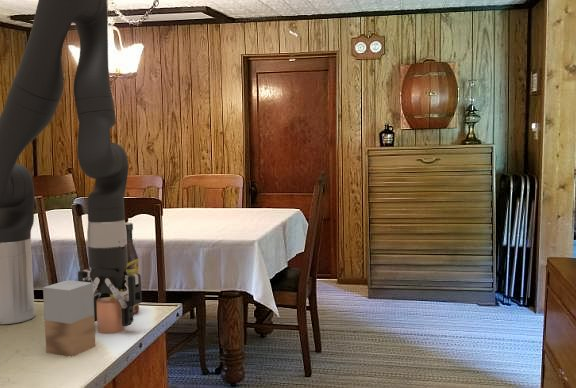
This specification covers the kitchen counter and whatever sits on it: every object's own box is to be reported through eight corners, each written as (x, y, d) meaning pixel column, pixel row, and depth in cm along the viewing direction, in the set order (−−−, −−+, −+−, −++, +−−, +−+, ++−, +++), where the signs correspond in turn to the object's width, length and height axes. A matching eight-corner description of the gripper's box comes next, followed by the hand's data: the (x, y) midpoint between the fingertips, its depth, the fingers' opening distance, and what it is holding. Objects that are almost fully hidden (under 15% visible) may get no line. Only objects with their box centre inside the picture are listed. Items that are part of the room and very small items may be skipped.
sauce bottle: (132, 317, 130) (128, 225, 128) (105, 315, 131) (101, 225, 129) (145, 308, 136) (142, 221, 134) (119, 307, 137) (116, 221, 135)
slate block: (44, 320, 108) (43, 287, 107) (69, 311, 113) (67, 280, 113) (70, 323, 105) (69, 290, 105) (94, 314, 111) (92, 282, 110)
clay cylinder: (91, 331, 120) (90, 302, 119) (108, 324, 125) (108, 295, 124) (112, 334, 118) (112, 304, 117) (129, 327, 123) (128, 298, 122)
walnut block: (46, 352, 108) (44, 320, 108) (70, 342, 114) (69, 311, 113) (72, 357, 106) (70, 324, 105) (95, 346, 111) (94, 314, 111)
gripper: (66, 244, 119) (69, 324, 121) (124, 248, 113) (127, 332, 115) (92, 238, 126) (95, 314, 127) (148, 241, 120) (151, 321, 122)
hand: (110, 323), depth 121 cm, fingers open, 7 cm apart
